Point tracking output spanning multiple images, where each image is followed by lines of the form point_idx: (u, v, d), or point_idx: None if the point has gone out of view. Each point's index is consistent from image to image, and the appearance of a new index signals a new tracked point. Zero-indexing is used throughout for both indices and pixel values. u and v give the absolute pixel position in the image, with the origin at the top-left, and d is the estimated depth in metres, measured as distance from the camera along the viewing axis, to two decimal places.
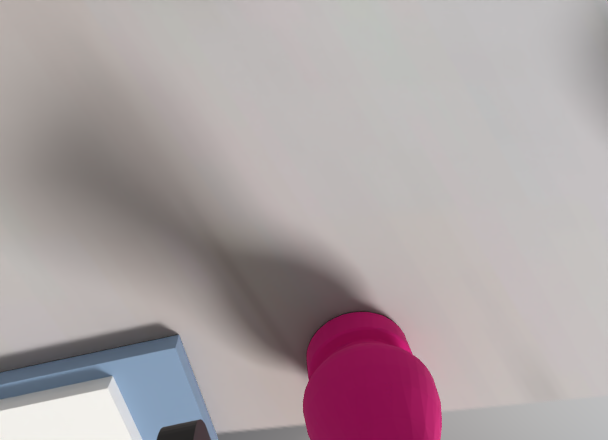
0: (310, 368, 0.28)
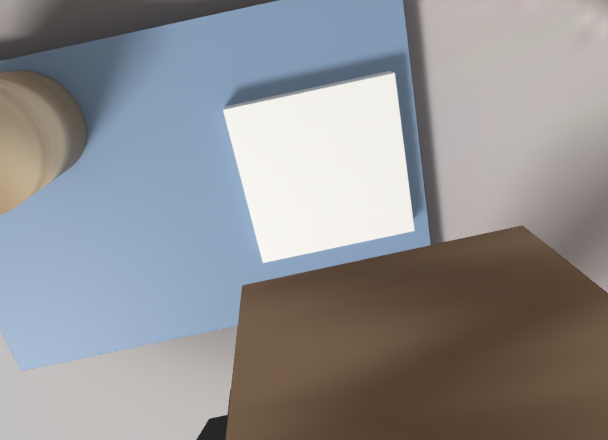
0: None
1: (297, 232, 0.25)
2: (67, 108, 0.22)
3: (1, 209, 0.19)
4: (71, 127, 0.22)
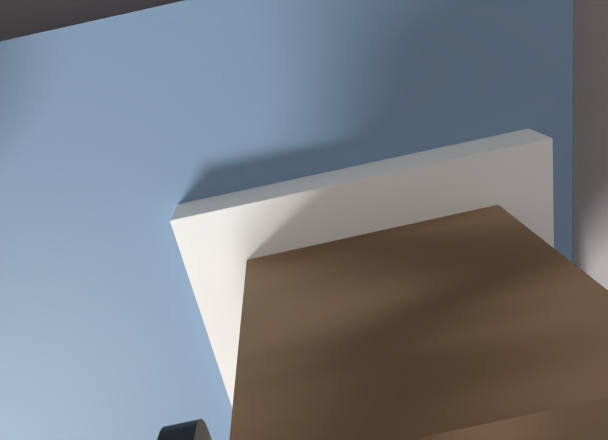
0: None
1: None
2: None
3: None
4: None
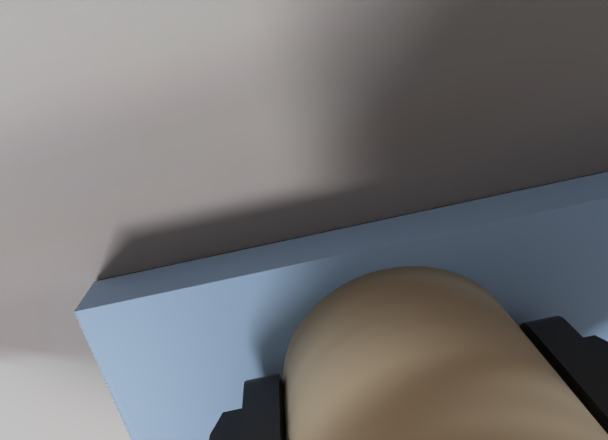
0: None
1: None
2: None
3: None
4: None
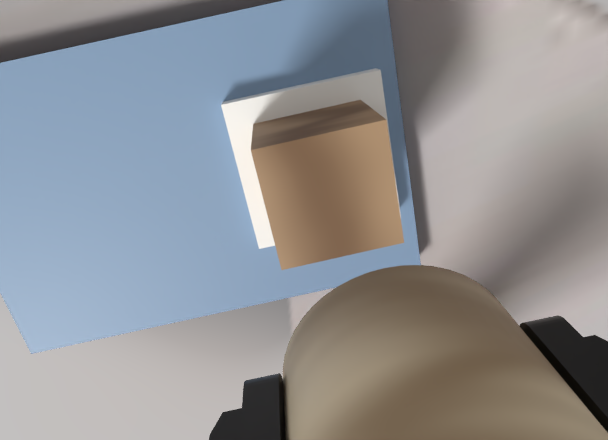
0: None
1: None
2: None
3: None
4: None
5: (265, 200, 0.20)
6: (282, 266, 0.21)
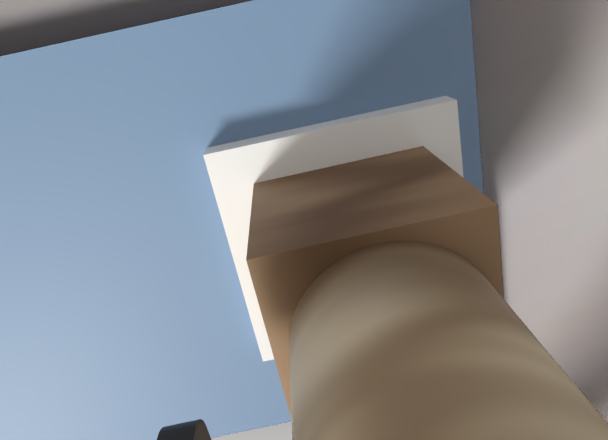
0: None
1: None
2: None
3: None
4: None
5: (272, 342, 0.11)
6: None
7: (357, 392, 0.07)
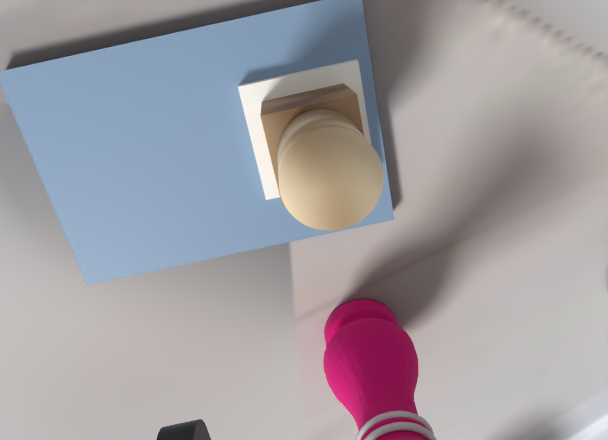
0: (371, 310, 0.40)
1: None
2: None
3: (348, 223, 0.24)
4: None
5: (270, 153, 0.28)
6: (283, 203, 0.29)
7: (295, 135, 0.24)
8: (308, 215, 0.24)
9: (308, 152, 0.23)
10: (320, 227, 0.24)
